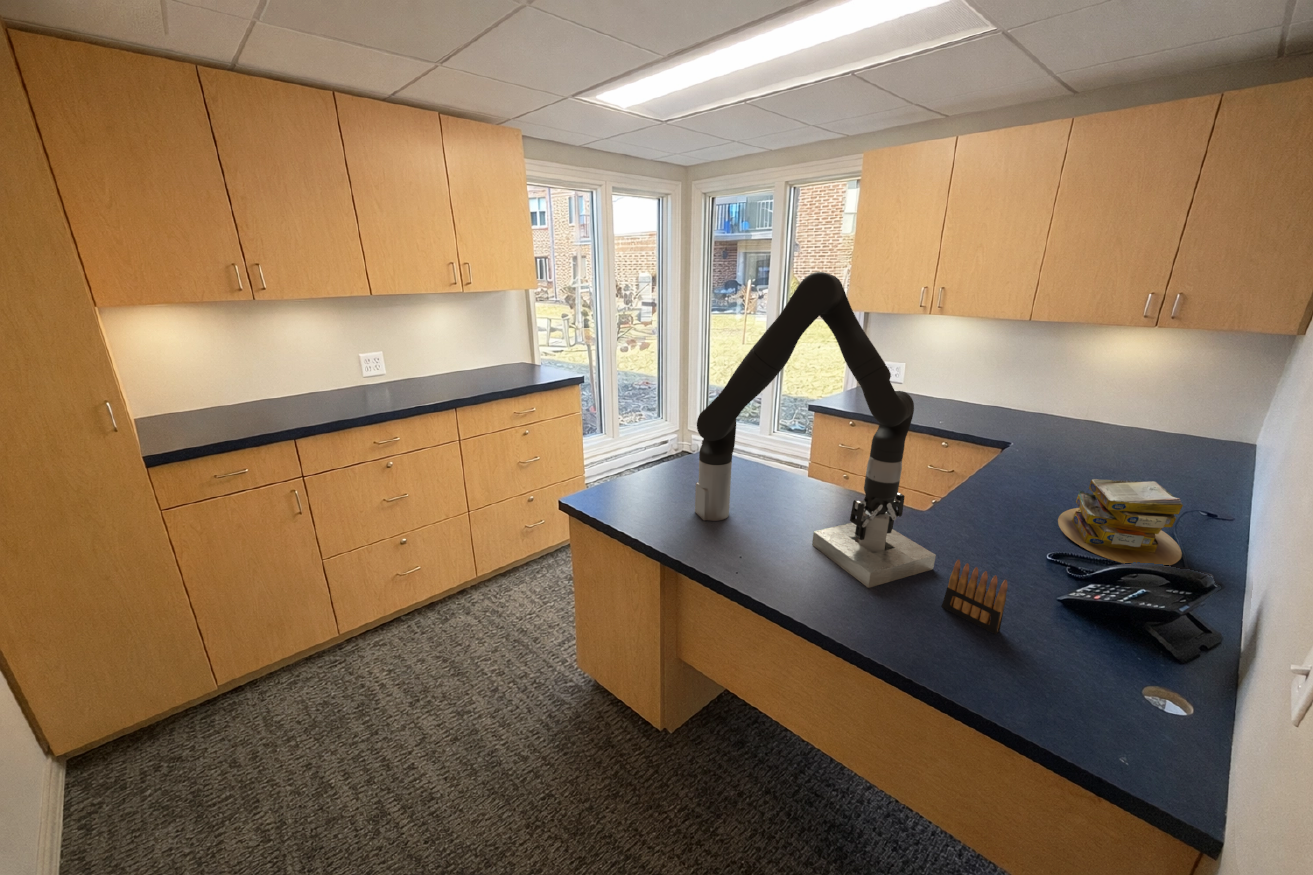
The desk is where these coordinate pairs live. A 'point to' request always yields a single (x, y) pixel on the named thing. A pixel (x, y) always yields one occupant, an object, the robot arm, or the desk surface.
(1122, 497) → the stacked yellow boxes
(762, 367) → the robot arm
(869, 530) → the skincare box
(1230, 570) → the desk surface
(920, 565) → the frame
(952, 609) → the ammunition clip
